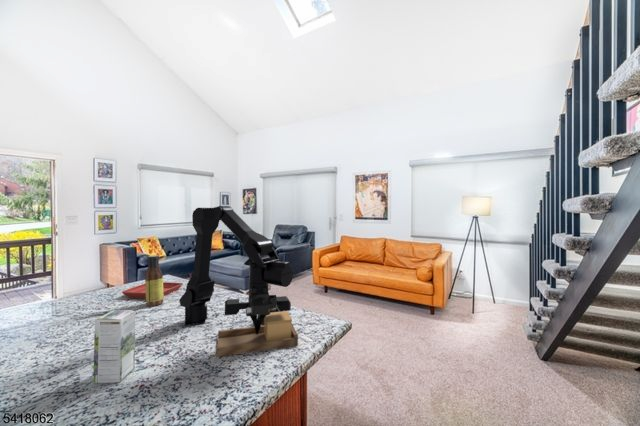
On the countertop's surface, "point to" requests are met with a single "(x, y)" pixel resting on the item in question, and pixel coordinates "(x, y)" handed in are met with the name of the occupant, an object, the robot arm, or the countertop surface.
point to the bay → (250, 341)
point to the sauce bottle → (154, 282)
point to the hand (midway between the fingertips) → (257, 334)
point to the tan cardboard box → (278, 325)
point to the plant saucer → (141, 290)
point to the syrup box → (114, 346)
